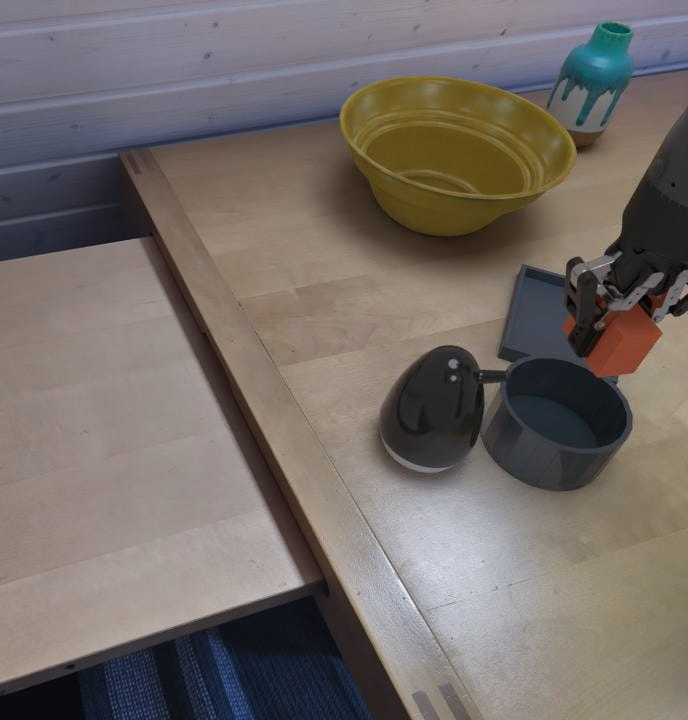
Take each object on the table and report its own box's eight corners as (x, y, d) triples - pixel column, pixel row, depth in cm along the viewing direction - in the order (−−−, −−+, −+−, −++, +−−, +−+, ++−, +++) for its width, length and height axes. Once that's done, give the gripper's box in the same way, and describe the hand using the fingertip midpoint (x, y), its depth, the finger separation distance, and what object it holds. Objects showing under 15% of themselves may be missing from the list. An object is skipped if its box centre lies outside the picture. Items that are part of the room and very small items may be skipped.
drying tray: (517, 274, 98) (522, 263, 97) (618, 303, 95) (625, 292, 93) (497, 357, 88) (503, 346, 86) (610, 393, 84) (618, 382, 83)
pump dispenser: (463, 499, 74) (513, 409, 63) (364, 472, 76) (395, 379, 65) (470, 425, 80) (516, 331, 69) (378, 401, 82) (409, 306, 71)
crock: (565, 388, 85) (590, 348, 79) (627, 483, 76) (659, 445, 71) (461, 400, 83) (479, 360, 78) (512, 499, 74) (537, 461, 69)
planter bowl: (491, 147, 120) (519, 70, 110) (579, 272, 99) (624, 190, 89) (305, 155, 117) (316, 76, 107) (355, 285, 96) (375, 202, 86)
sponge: (596, 324, 65) (622, 283, 61) (633, 373, 61) (663, 333, 57) (561, 328, 64) (585, 287, 61) (596, 378, 60) (624, 337, 57)
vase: (525, 142, 122) (570, 28, 108) (546, 117, 128) (592, 7, 114) (587, 164, 118) (642, 49, 104) (606, 137, 124) (661, 25, 109)
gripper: (647, 221, 46) (545, 390, 59) (835, 204, 48) (696, 371, 61) (586, 157, 51) (504, 326, 64) (759, 144, 53) (646, 310, 66)
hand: (599, 347), depth 62 cm, fingers closed on sponge, 3 cm apart
